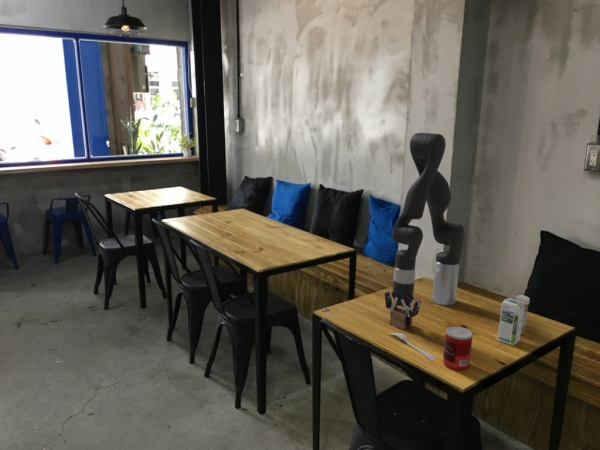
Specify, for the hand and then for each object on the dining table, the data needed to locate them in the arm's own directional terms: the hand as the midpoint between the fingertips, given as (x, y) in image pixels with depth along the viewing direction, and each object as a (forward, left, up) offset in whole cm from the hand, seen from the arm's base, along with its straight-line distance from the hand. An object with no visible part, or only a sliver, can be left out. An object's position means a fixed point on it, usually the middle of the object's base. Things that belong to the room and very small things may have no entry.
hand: (400, 322), depth 173 cm
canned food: (+12, +27, -1) cm, 30 cm away
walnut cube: (0, 0, -1) cm, 1 cm away
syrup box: (-16, +33, -1) cm, 37 cm away
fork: (+11, +11, -1) cm, 16 cm away
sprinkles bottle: (-25, +33, -1) cm, 41 cm away
